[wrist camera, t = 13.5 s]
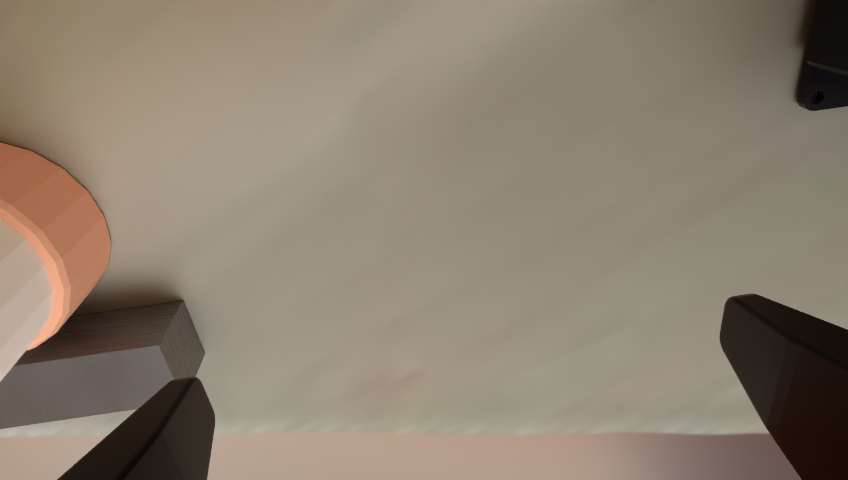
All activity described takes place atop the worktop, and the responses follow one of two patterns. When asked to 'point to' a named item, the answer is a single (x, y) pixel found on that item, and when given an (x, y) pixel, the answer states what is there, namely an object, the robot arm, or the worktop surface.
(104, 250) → the salt shaker
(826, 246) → the worktop surface
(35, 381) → the steel bar
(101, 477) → the robot arm
